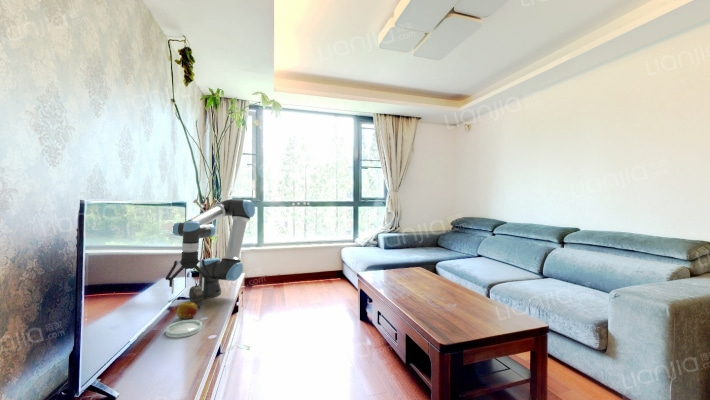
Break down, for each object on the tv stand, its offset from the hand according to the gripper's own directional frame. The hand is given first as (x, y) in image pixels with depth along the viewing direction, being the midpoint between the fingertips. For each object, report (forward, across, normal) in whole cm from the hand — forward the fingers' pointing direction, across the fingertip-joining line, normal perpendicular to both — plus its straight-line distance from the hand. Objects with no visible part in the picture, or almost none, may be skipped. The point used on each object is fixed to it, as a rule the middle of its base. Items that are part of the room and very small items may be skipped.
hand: (187, 291), depth 147 cm
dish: (+14, -1, -15) cm, 20 cm away
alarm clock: (+14, +4, +15) cm, 21 cm away
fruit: (+14, 0, 0) cm, 14 cm away
